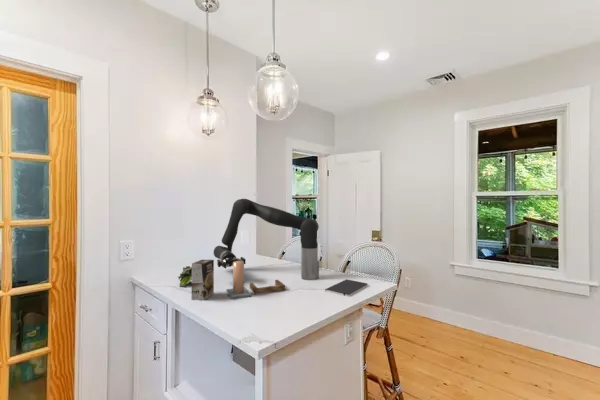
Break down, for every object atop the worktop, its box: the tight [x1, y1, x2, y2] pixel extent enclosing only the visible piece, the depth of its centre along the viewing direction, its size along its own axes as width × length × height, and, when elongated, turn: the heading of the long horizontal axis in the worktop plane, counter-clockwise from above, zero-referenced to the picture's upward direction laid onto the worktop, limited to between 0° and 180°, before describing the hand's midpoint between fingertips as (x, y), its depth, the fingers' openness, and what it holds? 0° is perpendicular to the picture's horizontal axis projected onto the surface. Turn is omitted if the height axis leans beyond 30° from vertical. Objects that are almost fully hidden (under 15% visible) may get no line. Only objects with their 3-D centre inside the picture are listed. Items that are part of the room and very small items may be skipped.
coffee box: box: [191, 259, 215, 301], centre depth 131 cm, size 9×6×16 cm
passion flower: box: [177, 265, 192, 288], centre depth 150 cm, size 11×11×12 cm
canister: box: [232, 261, 245, 294], centre depth 135 cm, size 5×5×14 cm
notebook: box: [325, 279, 368, 297], centre depth 144 cm, size 13×2×21 cm
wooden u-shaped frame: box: [249, 279, 286, 295], centre depth 142 cm, size 15×10×2 cm
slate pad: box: [225, 286, 252, 300], centre depth 135 cm, size 9×12×1 cm
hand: (234, 265), depth 146 cm, fingers open, 8 cm apart
